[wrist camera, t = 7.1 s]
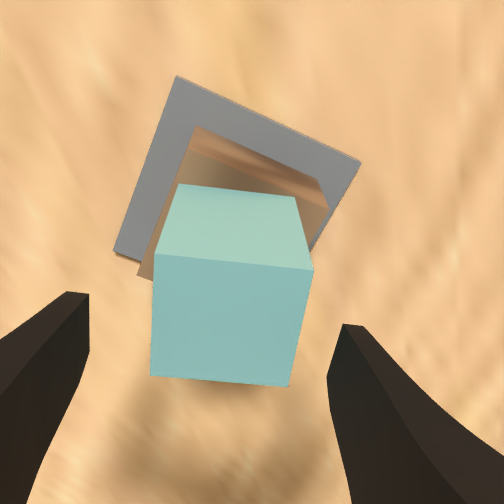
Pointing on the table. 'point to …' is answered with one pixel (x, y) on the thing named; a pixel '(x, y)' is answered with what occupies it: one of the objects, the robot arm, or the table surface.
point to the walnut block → (239, 183)
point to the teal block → (229, 287)
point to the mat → (237, 130)
